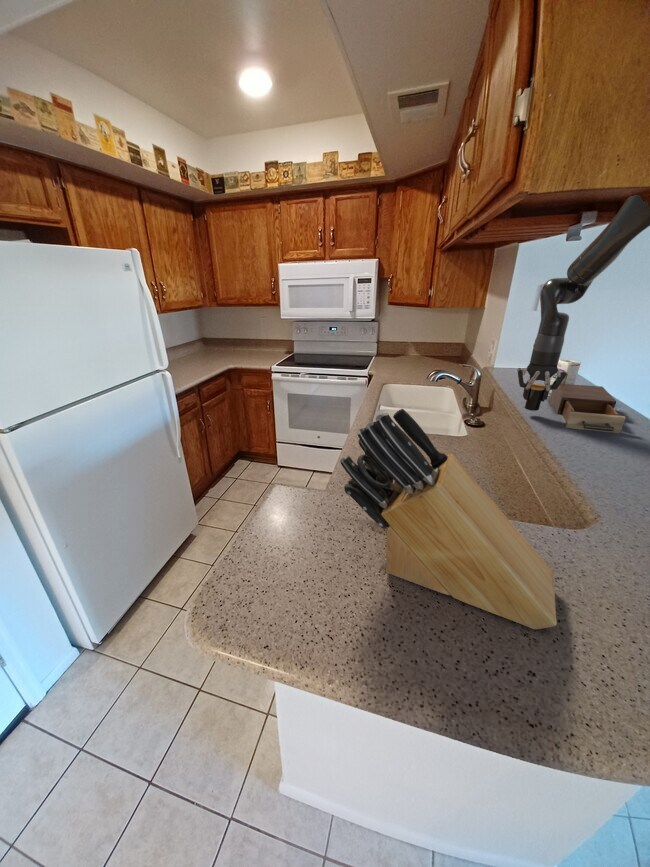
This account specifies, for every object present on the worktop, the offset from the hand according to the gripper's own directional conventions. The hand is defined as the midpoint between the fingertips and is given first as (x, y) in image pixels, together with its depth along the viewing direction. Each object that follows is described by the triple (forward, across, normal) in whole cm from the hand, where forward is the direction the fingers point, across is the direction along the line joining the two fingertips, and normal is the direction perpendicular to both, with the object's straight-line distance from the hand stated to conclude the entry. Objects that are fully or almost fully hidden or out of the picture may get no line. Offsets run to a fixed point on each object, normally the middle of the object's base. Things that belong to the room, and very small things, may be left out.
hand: (534, 399), depth 109 cm
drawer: (+7, +16, -2) cm, 18 cm away
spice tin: (+3, 0, 0) cm, 3 cm away
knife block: (+8, -23, -74) cm, 78 cm away
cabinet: (+8, +16, +12) cm, 22 cm away
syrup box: (+8, +13, +27) cm, 31 cm away
